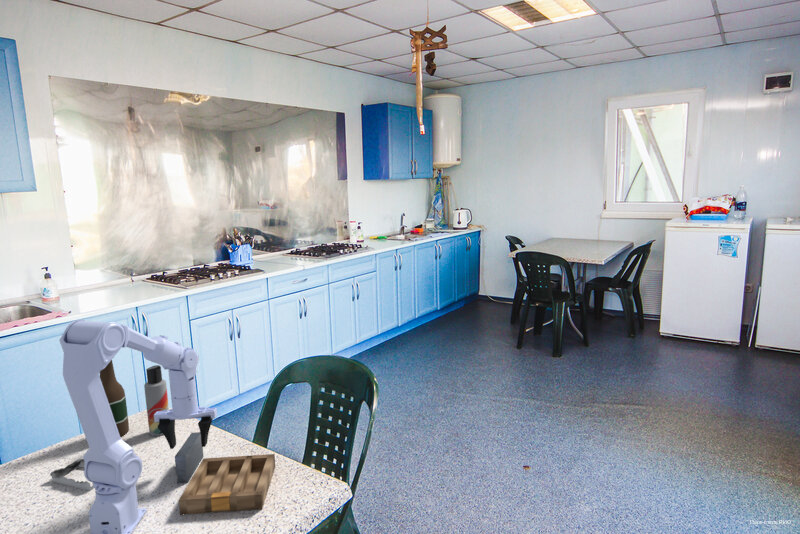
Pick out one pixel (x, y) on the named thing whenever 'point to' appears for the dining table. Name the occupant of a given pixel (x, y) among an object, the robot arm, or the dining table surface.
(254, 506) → the rack
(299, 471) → the dining table surface
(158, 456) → the dining table surface
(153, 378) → the lotion bottle
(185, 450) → the panel
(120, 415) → the beer bottle
